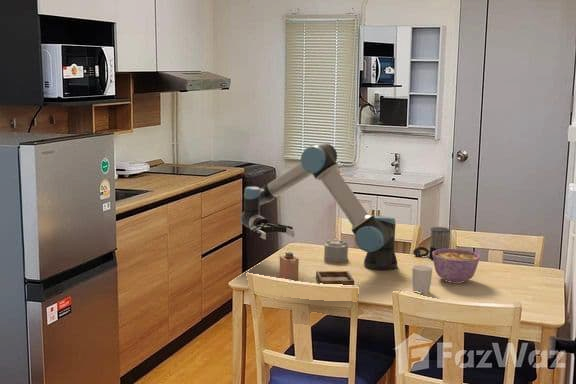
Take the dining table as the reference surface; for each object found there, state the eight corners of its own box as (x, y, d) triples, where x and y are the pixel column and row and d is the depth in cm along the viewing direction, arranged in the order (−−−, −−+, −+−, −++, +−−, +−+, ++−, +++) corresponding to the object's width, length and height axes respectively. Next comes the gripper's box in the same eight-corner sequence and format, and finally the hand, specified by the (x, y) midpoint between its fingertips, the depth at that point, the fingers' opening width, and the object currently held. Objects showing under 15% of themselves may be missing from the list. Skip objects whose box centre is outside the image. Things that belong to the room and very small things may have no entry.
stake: (290, 277, 308) (290, 252, 306) (292, 278, 306) (293, 253, 304) (284, 277, 307) (285, 252, 305) (287, 279, 305) (288, 254, 303)
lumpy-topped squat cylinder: (322, 260, 336) (322, 242, 334) (329, 253, 348) (329, 236, 346) (343, 262, 333) (344, 244, 331) (350, 256, 345) (350, 238, 343)
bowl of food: (447, 271, 323) (449, 246, 321) (487, 281, 309) (489, 255, 307) (421, 279, 309) (422, 253, 307) (461, 290, 295) (463, 263, 293)
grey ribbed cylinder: (450, 262, 338) (452, 231, 335) (416, 261, 338) (418, 230, 336) (444, 254, 352) (446, 224, 349) (411, 253, 352) (413, 224, 350)
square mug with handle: (291, 275, 310) (292, 255, 309) (299, 280, 303) (300, 259, 302) (279, 277, 308) (279, 256, 306) (287, 281, 301) (287, 261, 299)
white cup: (430, 295, 287) (432, 271, 286) (410, 293, 289) (412, 269, 287) (430, 289, 295) (432, 266, 293) (411, 288, 297) (412, 264, 295)
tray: (348, 276, 311) (348, 271, 310) (354, 286, 297) (354, 280, 297) (315, 276, 309) (316, 271, 309) (320, 286, 296) (320, 280, 295)
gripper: (284, 230, 336) (304, 241, 317) (234, 234, 325) (252, 245, 306) (284, 215, 335) (305, 224, 316) (234, 218, 324) (253, 228, 305)
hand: (279, 235), depth 311 cm, fingers open, 13 cm apart
